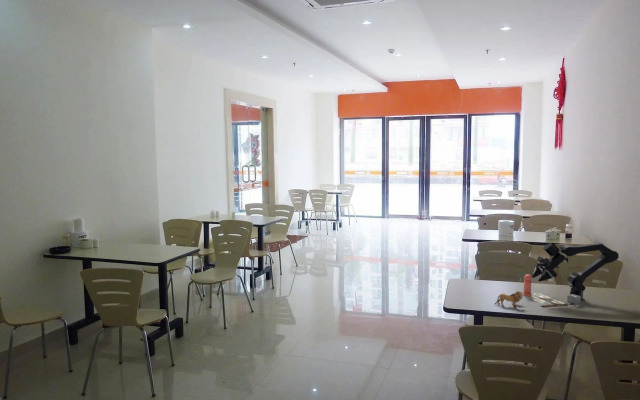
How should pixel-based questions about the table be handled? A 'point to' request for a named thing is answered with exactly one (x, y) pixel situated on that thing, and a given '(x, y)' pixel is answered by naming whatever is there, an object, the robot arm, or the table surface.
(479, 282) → the table surface
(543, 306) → the board
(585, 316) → the table surface
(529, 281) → the pawn
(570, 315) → the table surface
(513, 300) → the lion figurine
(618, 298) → the table surface
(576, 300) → the die
